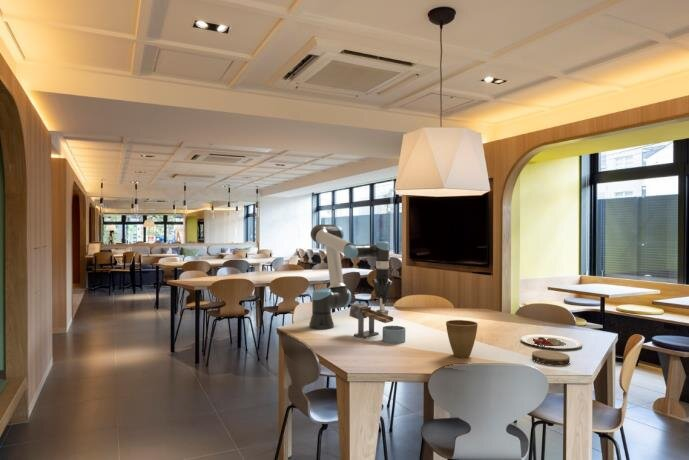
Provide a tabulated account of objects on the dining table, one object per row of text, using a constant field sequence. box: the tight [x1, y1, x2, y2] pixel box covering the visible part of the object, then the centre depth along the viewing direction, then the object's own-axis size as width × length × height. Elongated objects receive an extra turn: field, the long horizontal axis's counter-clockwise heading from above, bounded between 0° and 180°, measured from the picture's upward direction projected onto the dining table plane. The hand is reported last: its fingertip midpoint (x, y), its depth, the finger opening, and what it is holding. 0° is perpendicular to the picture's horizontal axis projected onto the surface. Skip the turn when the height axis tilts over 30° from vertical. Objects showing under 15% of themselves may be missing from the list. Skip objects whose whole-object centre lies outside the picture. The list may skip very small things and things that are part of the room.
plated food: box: [520, 334, 583, 350], centre depth 244 cm, size 30×30×3 cm
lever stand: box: [353, 313, 380, 339], centre depth 260 cm, size 8×13×14 cm, turn 140°
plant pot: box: [445, 319, 479, 359], centre depth 219 cm, size 15×15×16 cm
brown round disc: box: [531, 349, 571, 366], centre depth 211 cm, size 16×16×3 cm
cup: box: [382, 325, 406, 345], centre depth 247 cm, size 12×12×7 cm
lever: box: [348, 302, 394, 324], centre depth 260 cm, size 25×14×7 cm, turn 50°
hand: (382, 309), depth 261 cm, fingers closed
